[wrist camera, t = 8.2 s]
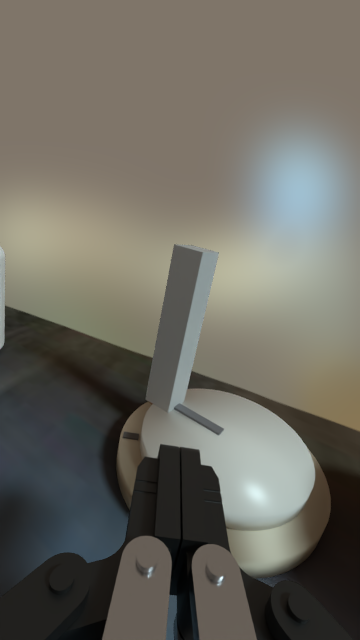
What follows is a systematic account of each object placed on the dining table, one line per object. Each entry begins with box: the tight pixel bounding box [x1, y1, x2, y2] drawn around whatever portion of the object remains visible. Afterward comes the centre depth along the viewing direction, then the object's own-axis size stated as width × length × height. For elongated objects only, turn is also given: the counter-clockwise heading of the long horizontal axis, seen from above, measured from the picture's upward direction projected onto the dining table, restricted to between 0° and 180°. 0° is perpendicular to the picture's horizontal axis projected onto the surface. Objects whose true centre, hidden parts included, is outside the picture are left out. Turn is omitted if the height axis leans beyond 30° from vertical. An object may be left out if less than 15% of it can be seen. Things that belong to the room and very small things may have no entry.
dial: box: [140, 245, 315, 531], centre depth 22 cm, size 14×13×14 cm
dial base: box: [116, 401, 331, 579], centre depth 24 cm, size 16×16×2 cm
